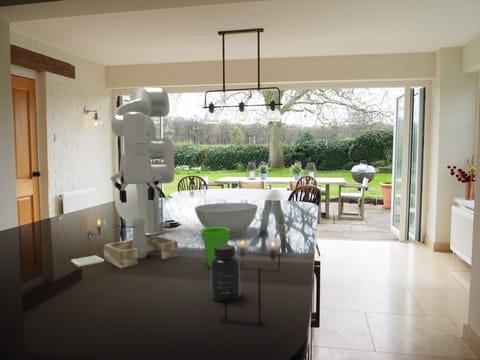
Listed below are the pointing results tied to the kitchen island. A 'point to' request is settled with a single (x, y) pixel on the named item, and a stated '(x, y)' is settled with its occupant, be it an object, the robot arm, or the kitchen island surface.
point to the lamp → (127, 204)
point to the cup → (214, 240)
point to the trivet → (87, 260)
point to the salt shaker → (139, 238)
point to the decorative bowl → (227, 216)
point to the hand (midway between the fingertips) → (137, 201)
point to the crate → (127, 257)
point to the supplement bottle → (225, 274)
